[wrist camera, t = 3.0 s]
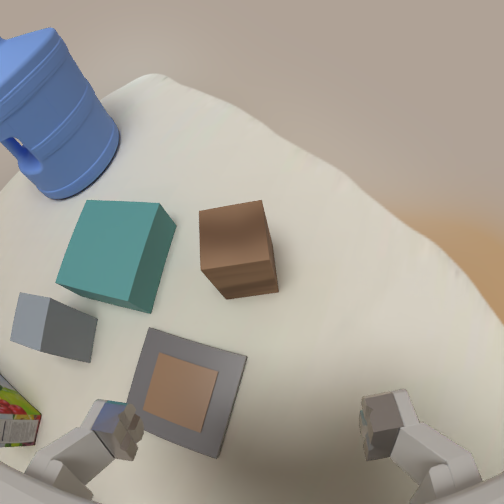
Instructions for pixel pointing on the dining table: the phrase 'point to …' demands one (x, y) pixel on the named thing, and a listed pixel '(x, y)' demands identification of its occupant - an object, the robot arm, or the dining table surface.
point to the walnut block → (237, 250)
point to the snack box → (16, 418)
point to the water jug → (52, 115)
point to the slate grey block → (53, 328)
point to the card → (185, 391)
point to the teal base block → (118, 253)
